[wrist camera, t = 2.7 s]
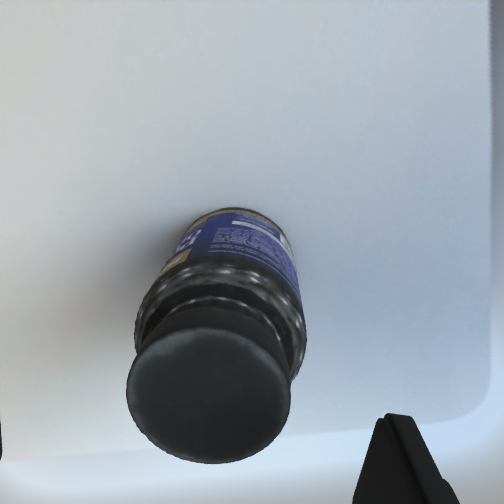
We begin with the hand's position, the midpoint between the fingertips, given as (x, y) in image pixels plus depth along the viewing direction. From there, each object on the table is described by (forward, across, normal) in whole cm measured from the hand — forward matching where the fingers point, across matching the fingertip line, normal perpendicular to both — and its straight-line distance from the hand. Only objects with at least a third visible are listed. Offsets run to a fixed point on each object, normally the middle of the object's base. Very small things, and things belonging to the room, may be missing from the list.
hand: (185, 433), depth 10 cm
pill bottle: (+13, -1, 0) cm, 13 cm away
